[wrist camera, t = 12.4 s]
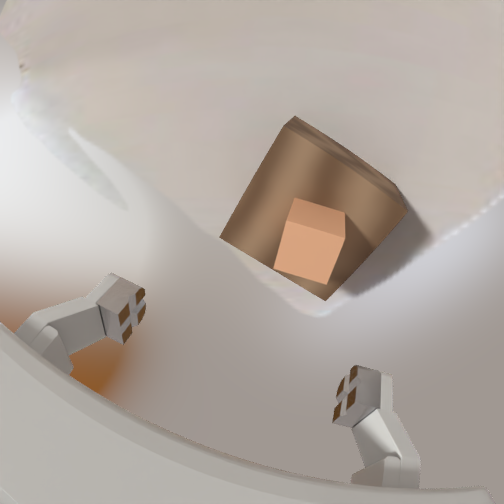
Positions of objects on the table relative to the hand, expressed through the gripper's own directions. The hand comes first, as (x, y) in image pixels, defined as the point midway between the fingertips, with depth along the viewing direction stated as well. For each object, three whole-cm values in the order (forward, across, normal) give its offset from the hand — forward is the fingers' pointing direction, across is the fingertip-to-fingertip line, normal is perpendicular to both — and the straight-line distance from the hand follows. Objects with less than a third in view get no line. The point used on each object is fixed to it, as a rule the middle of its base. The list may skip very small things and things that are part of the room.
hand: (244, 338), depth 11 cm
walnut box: (+28, -1, +6) cm, 28 cm away
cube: (+20, -2, +6) cm, 21 cm away
